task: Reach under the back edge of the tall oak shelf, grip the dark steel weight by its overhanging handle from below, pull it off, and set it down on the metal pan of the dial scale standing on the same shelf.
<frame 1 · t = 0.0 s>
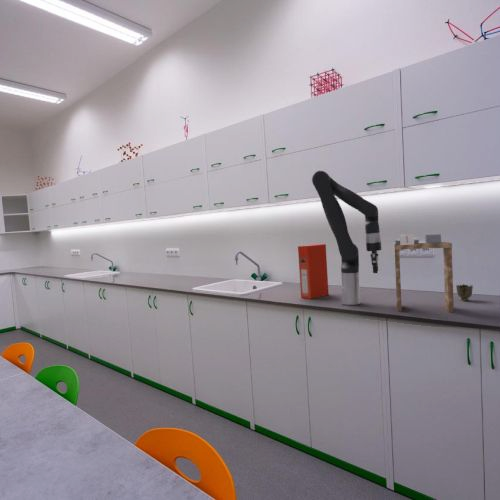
hand: (375, 272, 190), 17 cm above the table, tool pointing down, fingers open, 8 cm apart
steel weight: (432, 243, 170), point 32 cm above the table, touching oak shelf
cup: (464, 301, 186), on the table
file binder: (314, 296, 222), on the table
oak shelf: (423, 309, 174), on the table
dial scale: (406, 244, 174), resting on oak shelf
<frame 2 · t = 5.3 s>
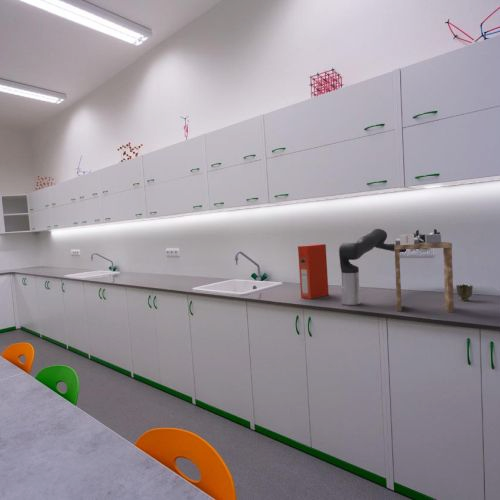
hand: (426, 230, 200), 37 cm above the table, tool pointing upward, fingers open, 8 cm apart
nothing on the table moved.
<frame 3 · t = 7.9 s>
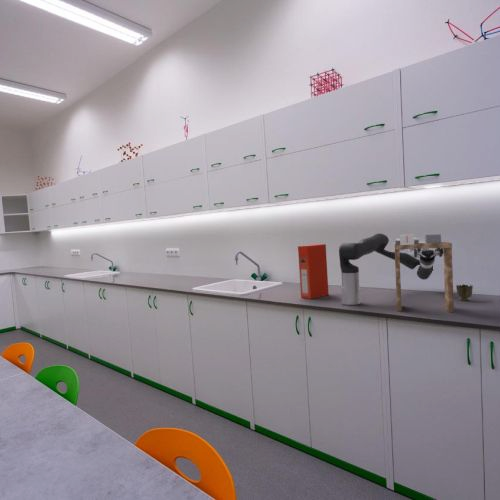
hand: (428, 246, 189), 29 cm above the table, tool pointing upward, fingers open, 8 cm apart
nothing on the table moved.
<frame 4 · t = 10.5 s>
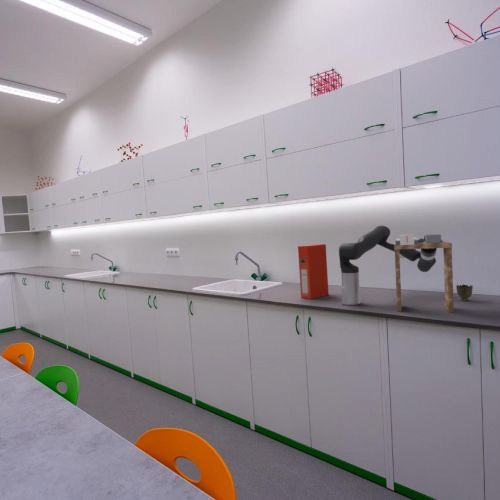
hand: (430, 236, 179), 35 cm above the table, tool pointing upward, fingers closed on steel weight, 3 cm apart
steel weight: (432, 243, 170), point 32 cm above the table, touching gripper, oak shelf
everything else where it was.
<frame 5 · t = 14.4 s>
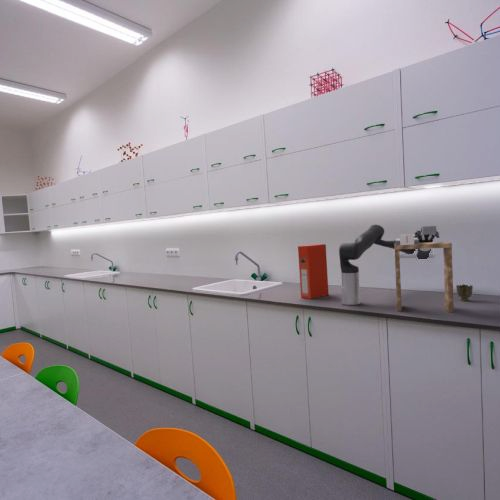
hand: (427, 228, 193), 39 cm above the table, tool pointing upward, fingers closed on steel weight, 3 cm apart
steel weight: (429, 234, 184), point 36 cm above the table, touching gripper
everything else where it was.
when the fingers open (39 cm above the table, at t = 18.4 s): steel weight drops 1 cm, resting on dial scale.
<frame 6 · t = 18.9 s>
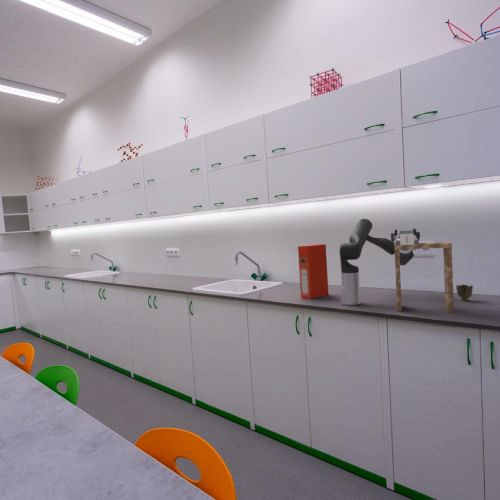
hand: (405, 230, 184), 38 cm above the table, tool pointing upward, fingers open, 8 cm apart
steel weight: (406, 238, 175), point 35 cm above the table, touching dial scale
everything else where it was.
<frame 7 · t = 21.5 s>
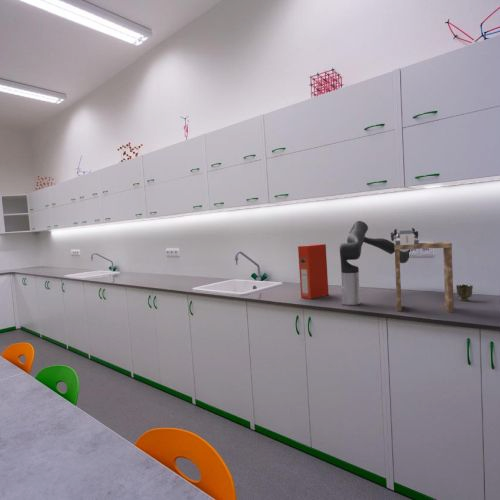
hand: (404, 229, 197), 38 cm above the table, tool pointing upward, fingers open, 8 cm apart
nothing on the table moved.
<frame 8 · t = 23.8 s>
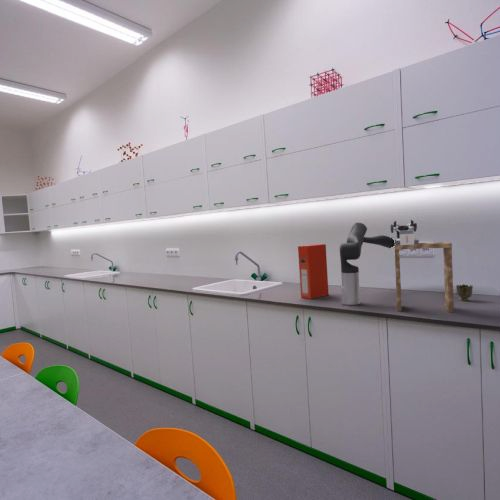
hand: (403, 221, 206), 43 cm above the table, tool pointing upward, fingers open, 8 cm apart
nothing on the table moved.
at the end: steel weight inside the target area on the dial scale (0.3 cm from its centre), point 2.6 cm above the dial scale's base; the gripper is holding nothing; steel weight touching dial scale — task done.
